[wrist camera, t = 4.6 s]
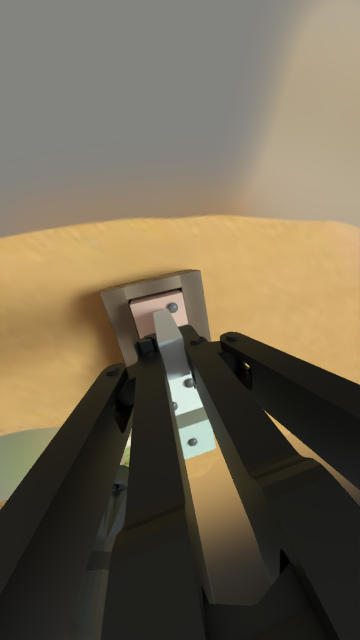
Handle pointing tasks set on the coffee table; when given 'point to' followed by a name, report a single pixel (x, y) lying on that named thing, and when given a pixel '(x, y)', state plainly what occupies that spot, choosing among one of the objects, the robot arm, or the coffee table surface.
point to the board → (122, 295)
